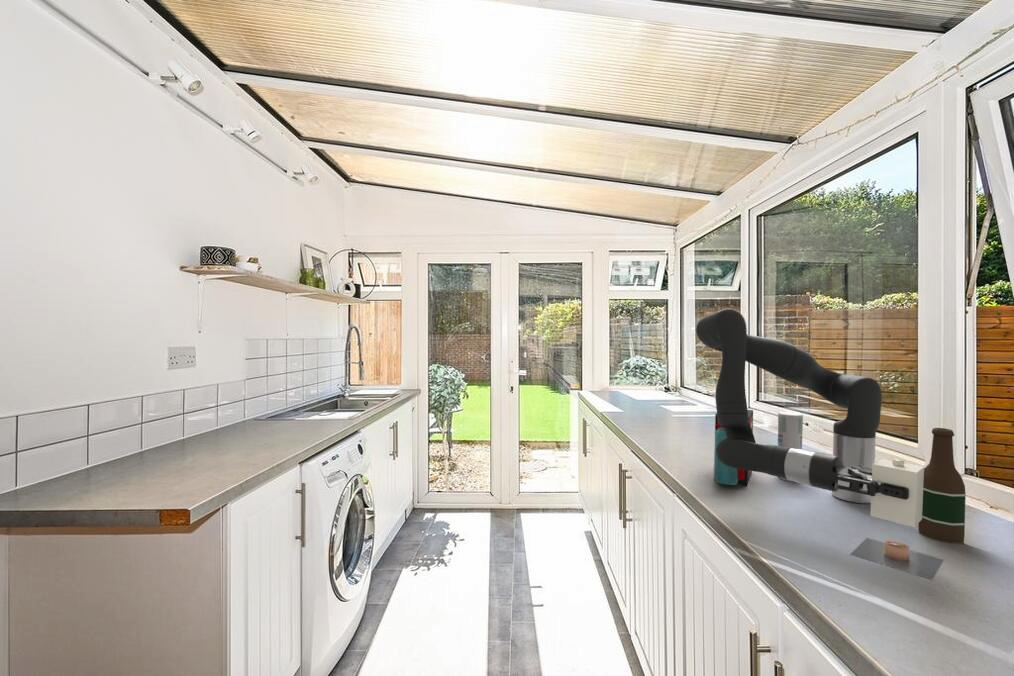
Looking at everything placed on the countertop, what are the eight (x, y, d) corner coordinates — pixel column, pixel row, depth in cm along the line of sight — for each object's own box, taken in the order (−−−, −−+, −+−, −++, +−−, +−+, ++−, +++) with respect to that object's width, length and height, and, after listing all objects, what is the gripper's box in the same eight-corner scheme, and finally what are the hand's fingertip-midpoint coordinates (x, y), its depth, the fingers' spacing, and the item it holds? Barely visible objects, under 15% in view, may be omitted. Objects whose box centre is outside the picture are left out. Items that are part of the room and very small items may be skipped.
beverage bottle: (741, 491, 130) (742, 420, 129) (715, 489, 131) (717, 418, 131) (734, 483, 136) (736, 416, 136) (710, 482, 137) (712, 414, 137)
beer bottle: (956, 550, 95) (958, 434, 95) (909, 535, 102) (912, 427, 102) (971, 542, 99) (974, 431, 99) (925, 528, 106) (928, 424, 106)
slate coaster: (866, 541, 99) (866, 537, 99) (943, 563, 89) (943, 559, 89) (849, 558, 91) (850, 554, 91) (931, 584, 82) (932, 579, 82)
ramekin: (890, 550, 93) (890, 538, 93) (913, 559, 89) (913, 546, 89) (879, 554, 91) (880, 541, 91) (902, 563, 88) (903, 550, 88)
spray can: (803, 482, 138) (805, 416, 138) (778, 479, 140) (780, 414, 140) (798, 476, 144) (800, 412, 144) (774, 474, 146) (776, 411, 146)
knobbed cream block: (879, 508, 95) (881, 454, 95) (921, 519, 90) (924, 461, 89) (870, 515, 90) (872, 458, 90) (914, 527, 85) (917, 467, 85)
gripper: (801, 456, 96) (905, 477, 84) (824, 447, 106) (921, 464, 93) (800, 492, 97) (903, 518, 84) (823, 479, 106) (919, 501, 93)
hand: (912, 490), depth 88 cm, fingers closed on knobbed cream block, 6 cm apart
